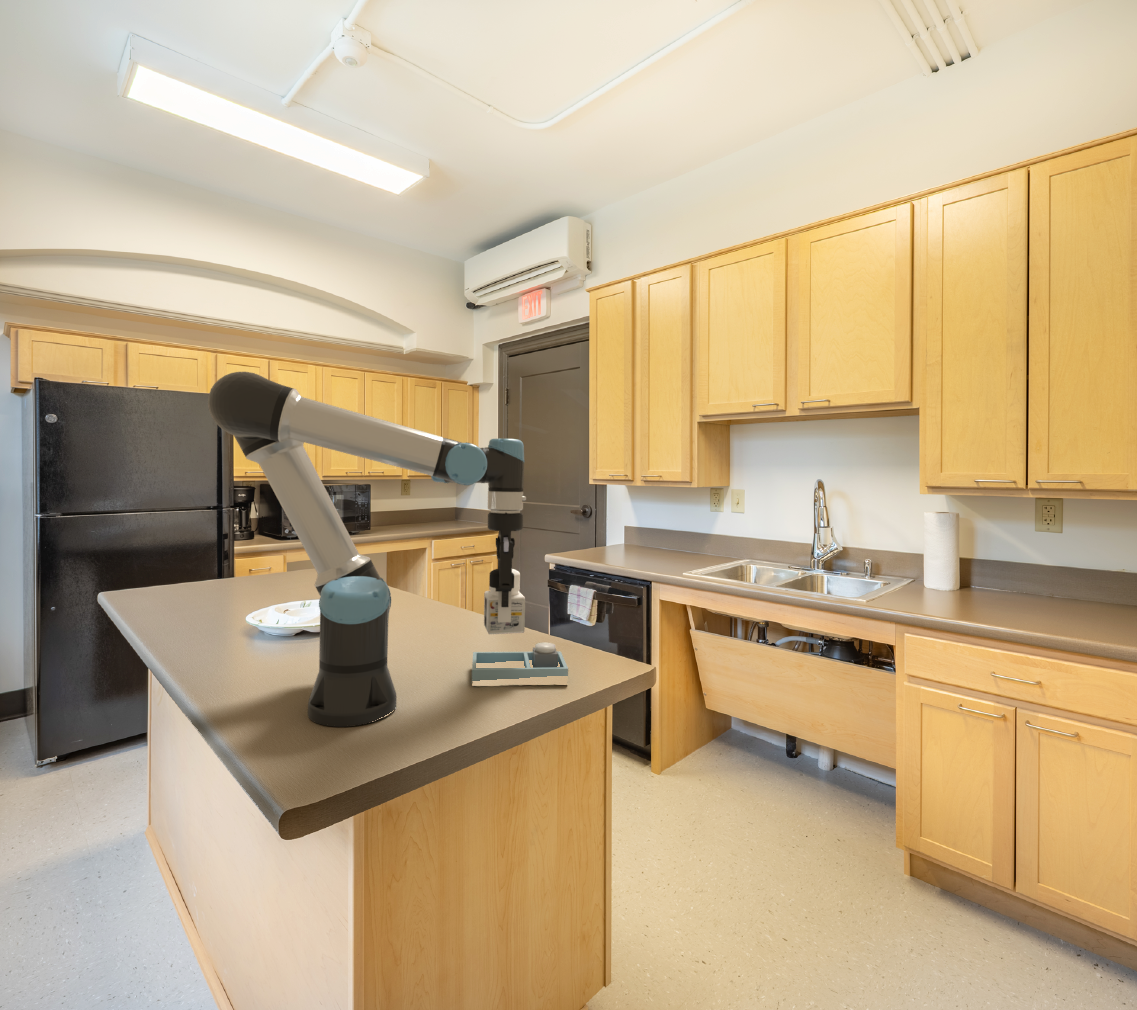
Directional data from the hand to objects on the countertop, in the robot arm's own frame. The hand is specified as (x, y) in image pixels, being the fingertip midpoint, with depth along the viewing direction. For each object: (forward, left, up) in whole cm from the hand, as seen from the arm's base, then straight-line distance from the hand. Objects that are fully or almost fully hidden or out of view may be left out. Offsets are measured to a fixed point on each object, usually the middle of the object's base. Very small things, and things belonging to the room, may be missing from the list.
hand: (503, 616), depth 128 cm
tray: (+4, 0, -13) cm, 14 cm away
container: (0, 0, -3) cm, 3 cm away
